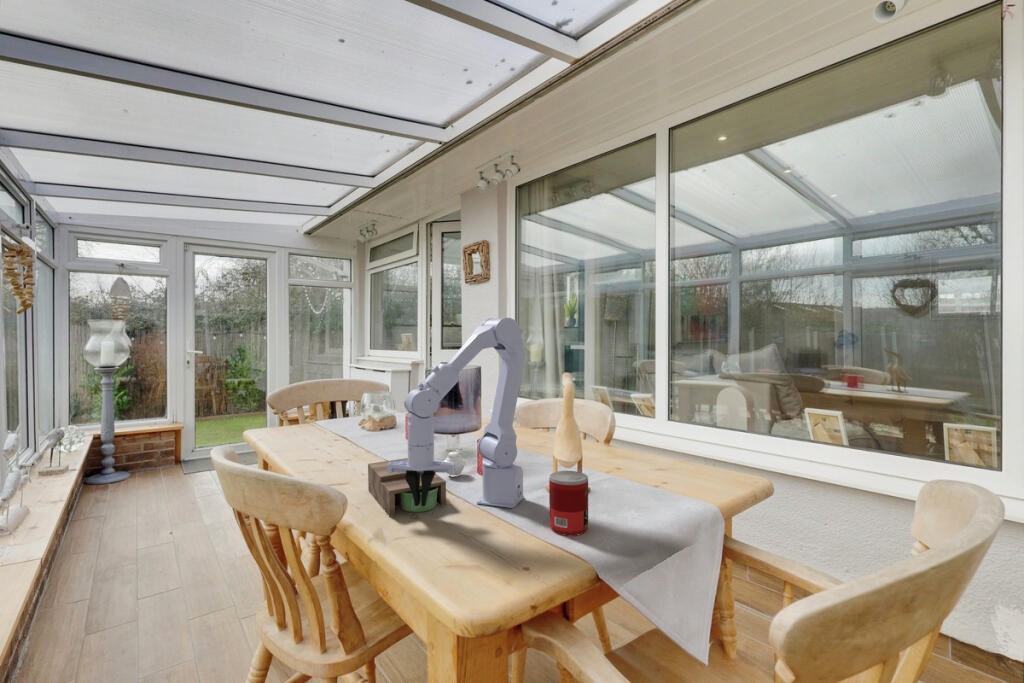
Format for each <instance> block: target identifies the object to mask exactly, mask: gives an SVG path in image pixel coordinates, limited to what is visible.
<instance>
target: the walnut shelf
mask: <svg viewBox="0 0 1024 683" xmlns="http://www.w3.org/2000/svg"><path fill="white" fill-rule="evenodd" d="M400 461H408V457H405V458H399V459H392V460H384V461H379V462H373V463H371V462H370V463H368V464H367V476H368V479H367V480H368V482H367V485H368V492H369V493H370V494H371V496H372V497H373V498H374V499H375V501H376V502H377V504H379V506H380V508H381V509H382V510H385V511H384V512H385V513H386V515H389V516H388V517H389V518H392V517H391V516H393V517H395V516H396V506H398V504H401V497H400V493H402V492H408V491H411V489H410V487H409V485H408V483H407V481H406V480H405V476H406V472H392V473H387V464H388V463H389V462H400ZM423 473H424V472H421V474H420V489H422V485H421V476H422V474H423ZM435 486H438V491H437V502H436V504H437V505H439V506H440V507H445V506H447V481H446V480H445V479H443V478H442V477H441V476H439V475H438V474H437V473H435V476H434V478H433V480H432V483H431V485H430V487H435Z"/></svg>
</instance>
